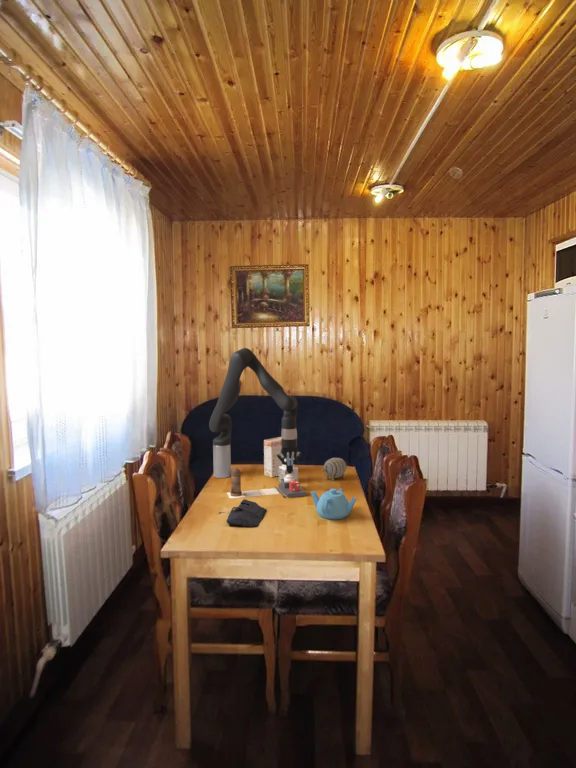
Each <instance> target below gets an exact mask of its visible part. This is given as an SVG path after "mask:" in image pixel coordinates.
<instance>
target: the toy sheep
mask: <svg viewBox="0 0 576 768" xmlns="http://www.w3.org/2000/svg"><path fill="white" fill-rule="evenodd" d="M347 467H348V465H347V462H346V461H345V460H344V459H343V458H341V457H332V458H329V459H327V460H326V461H325V462H324V465H323V468H322V469H321V471H322V472H324V473H325V474H326V475H325V479H326V480H329V479H330V478H331V481H332V482H334V481H335V479H340V477H341V478H342V479H345V477H346V476H345V472H346V470H347ZM329 477H330V478H329Z"/></svg>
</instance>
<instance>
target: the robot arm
mask: <svg viewBox="0 0 576 768" xmlns="http://www.w3.org/2000/svg"><path fill="white" fill-rule="evenodd" d="M246 368H249V369H250V370H252V371H253V373H255V375H256V378H257V379H258V382H259V384H260V386H261V388H263V390H264V391H265V392H266V393H267V394H268V395H269V396H270V397H272V399H273V401H274V402H275V403H276V405H277V406H278V407H279V408H280V409H281V410H282V411H283V415H282V417H281V431H280V432H281V433H280V434H281V436H280V437H281V445H282V449H281V452H280V453H279V454H277V455H276V456H277V457H278V458H279V459H280V461H281V462H282V463H283V464H284V465H286V471H287V472H288V473H292V472H293V465H294V464H295V465H297V463H298V462H299V460H300V459H301V458H302V456H303V453H302V452H300V451H299V450H298V431H297V415H298V407H299V406H298V405H299V404H298V400H297V398H296V397H295V396H294V395H288V394H287V393H286V392H285V390H284V387H283V386H282V385H281V384H280V383H279V382H278V381H277V380H276V379H275V378H274V377H273V376H272V375H271V374H270V373H269V372H268V371H267V369H266V368H265V366H263V364H262V362H261V361H260V360H259V359H258V357H257V356H256V355H255V353H254V352H253V351H252V350H251V349H249V348H247V347H243V348H241V349H238V350H237V351H235V352H233V353H232V354H231V356H230V358H229V363H228V368H227V373H226V375H225V379H224V381H223V384H222V387H221V389H220V393H219V397H218V398H217V399H218V400H217V402H216V405H215V407H214V409H213V411H212V414H211V416H210V417H209V418H210V419H209V422H208V427H209V430H210V431H211V432H212V433H220V434H219V435H218V436H216V437H215V438H213V440H212V455H213V456H212V457H213V459H212V460H213V462H212V465H213V469H212V470H213V477H214V478H217V479H225V478H229V477H230V478H231V471H232V463H231V462H232V461H231V460H232V459H231V458H232V457H231V453H232V452H231V440H232V427H233V426H232V418H231V416H230V414H227V413H226V412H227V411H228V410H230V409H231V408H232V407H233V406H234V405H235V404H236V402H237V401H238V398H239V395H240V392H241V383H240V379H241V377H242V374H243V372H244V370H245V369H246ZM282 455H283V456H284V457H285V460H286V462H285V461H284V460H283V459H282ZM294 458H295V459H294Z"/></svg>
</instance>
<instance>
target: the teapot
mask: <svg viewBox="0 0 576 768" xmlns="http://www.w3.org/2000/svg"><path fill="white" fill-rule="evenodd" d="M343 492H344V489H343V488H339V489H338V490H337V489H336V488H330V489H329V490H326V491H324V492H323V493H322V495H321V496H320V497H319V496H318V494H317V493H316V491H310V494H311V498H312V500H313V503H314V506H315V508H316V513H317V514H318V515H319V516H320V517H321V518H322V519H327V520H342V519H345V518H346V517H348V515H350V513H351V512H352V511H353V508H354V506H355V503H356V500H357V497H354V496H353V497H351V499H350V500H349V501H348V498H347V497H346V495H345V494H344V493H343Z"/></svg>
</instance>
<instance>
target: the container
mask: <svg viewBox="0 0 576 768" xmlns="http://www.w3.org/2000/svg"><path fill="white" fill-rule="evenodd" d="M295 458H296V457H294V459H295ZM282 459H283V460H284V461H285V462H286V460H285V457H283V458H282ZM295 465H296V464H294V465H293V472H292V473H288V472H287V471H286V465H284V464H283V463H282V466H279V476H278V481H279V482H280V483H281V479H284V477H286V475H287V474H293V475H294V477H295V479H296V480H298V481H299V468H298V467H297V466H295Z"/></svg>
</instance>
